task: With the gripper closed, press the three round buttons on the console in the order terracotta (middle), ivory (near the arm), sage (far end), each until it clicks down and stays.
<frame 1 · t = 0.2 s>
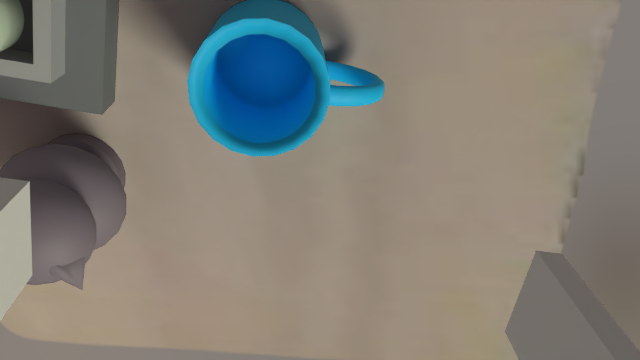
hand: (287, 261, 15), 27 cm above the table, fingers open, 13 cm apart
mug: (292, 61, 41), on the table
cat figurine: (84, 171, 44), on the table
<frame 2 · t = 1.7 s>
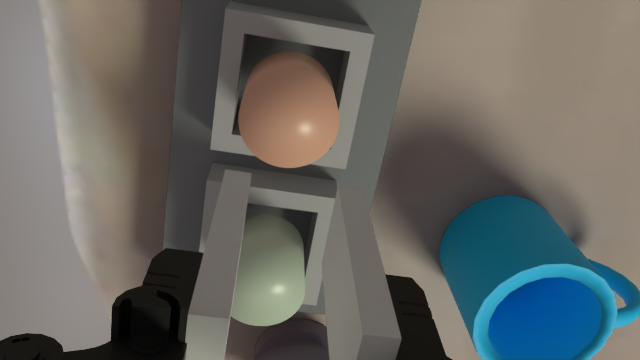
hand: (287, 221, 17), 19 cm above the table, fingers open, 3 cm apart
mug: (523, 249, 40), on the table
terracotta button: (289, 107, 27), point 8 cm above the table, slide at 0.0 cm
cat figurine: (299, 350, 43), on the table
sage button: (262, 268, 31), point 8 cm above the table, slide at 0.0 cm
console: (289, 67, 34), on the table
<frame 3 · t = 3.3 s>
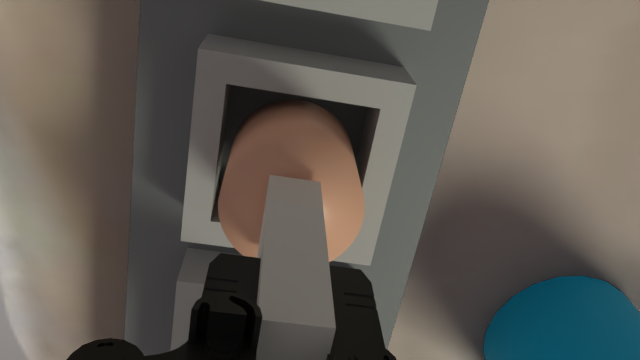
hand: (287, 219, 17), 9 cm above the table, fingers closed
mug: (590, 338, 32), on the table
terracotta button: (292, 181, 19), point 7 cm above the table, slide at 1.0 cm, touching gripper
console: (292, 116, 25), on the table
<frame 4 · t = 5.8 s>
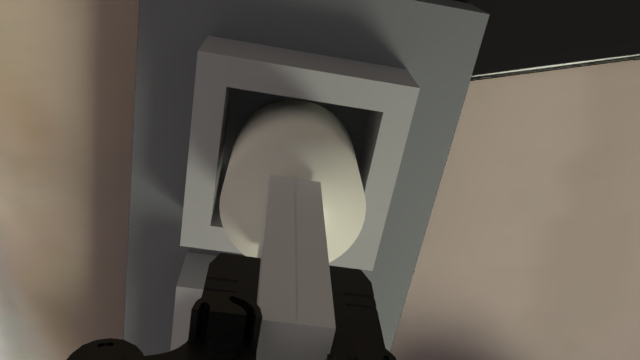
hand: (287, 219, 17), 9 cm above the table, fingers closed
ivory button: (293, 181, 19), point 6 cm above the table, slide at 1.4 cm, touching gripper
console: (264, 290, 29), on the table
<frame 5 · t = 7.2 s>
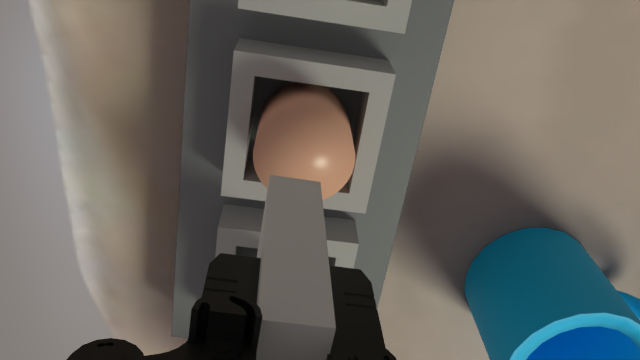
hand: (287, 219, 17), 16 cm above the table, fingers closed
mug: (553, 281, 38), on the table
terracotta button: (304, 140, 27), point 6 cm above the table, slide at 1.9 cm
console: (304, 100, 32), on the table
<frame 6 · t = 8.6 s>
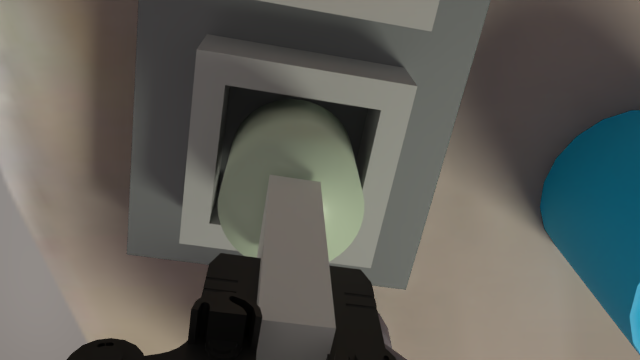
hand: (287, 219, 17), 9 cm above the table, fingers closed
sage button: (291, 181, 19), point 6 cm above the table, slide at 1.2 cm, touching gripper
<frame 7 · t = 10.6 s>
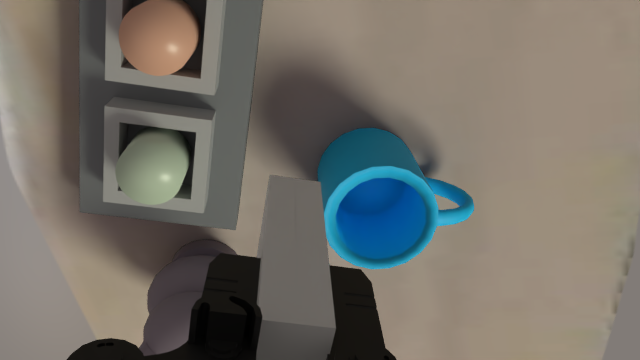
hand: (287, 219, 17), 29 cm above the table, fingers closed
mug: (388, 175, 48), on the table
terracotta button: (162, 34, 37), point 6 cm above the table, slide at 1.9 cm
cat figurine: (208, 269, 51), on the table
sage button: (155, 163, 41), point 6 cm above the table, slide at 1.9 cm
console: (177, 21, 42), on the table
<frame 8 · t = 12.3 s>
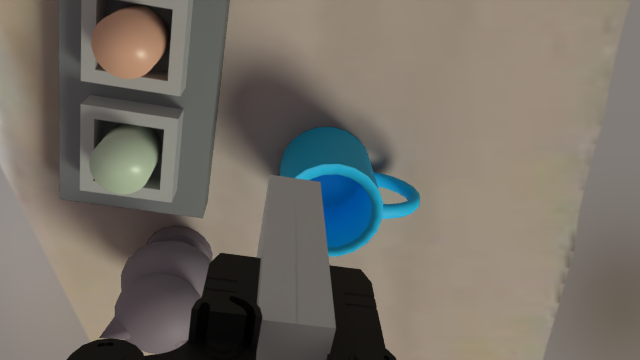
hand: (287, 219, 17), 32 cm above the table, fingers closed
mug: (346, 170, 53), on the table
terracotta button: (132, 41, 41), point 6 cm above the table, slide at 1.9 cm
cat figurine: (180, 253, 55), on the table
sage button: (126, 157, 45), point 6 cm above the table, slide at 1.9 cm
console: (150, 26, 46), on the table
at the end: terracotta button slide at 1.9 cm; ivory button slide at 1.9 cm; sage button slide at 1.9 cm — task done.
